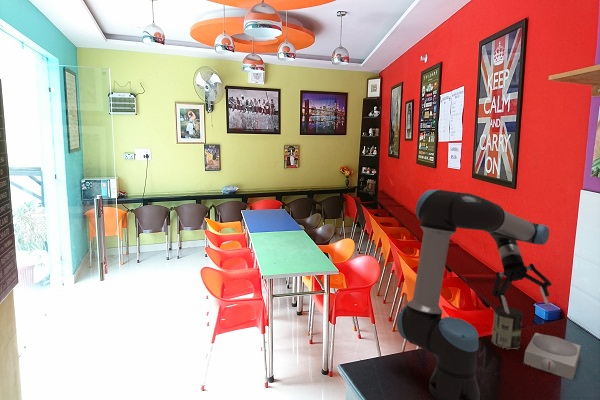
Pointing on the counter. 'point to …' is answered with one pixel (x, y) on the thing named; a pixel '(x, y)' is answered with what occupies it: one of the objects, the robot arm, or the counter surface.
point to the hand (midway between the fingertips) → (526, 309)
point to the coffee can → (507, 327)
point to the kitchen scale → (553, 355)
